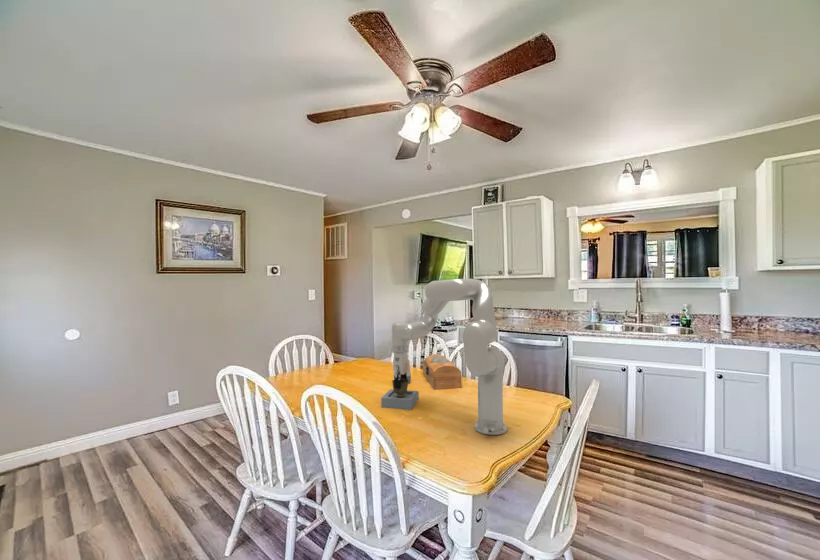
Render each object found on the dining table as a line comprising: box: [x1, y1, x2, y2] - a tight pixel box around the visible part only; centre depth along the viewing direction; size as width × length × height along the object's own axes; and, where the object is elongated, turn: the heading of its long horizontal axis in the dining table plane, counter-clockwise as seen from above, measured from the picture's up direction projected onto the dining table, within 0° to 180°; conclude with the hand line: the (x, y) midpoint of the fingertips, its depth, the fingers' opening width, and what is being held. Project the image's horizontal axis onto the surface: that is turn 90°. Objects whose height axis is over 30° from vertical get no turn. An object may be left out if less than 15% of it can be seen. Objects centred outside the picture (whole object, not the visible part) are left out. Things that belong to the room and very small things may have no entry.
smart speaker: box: [398, 360, 412, 385], centre depth 205 cm, size 10×9×14 cm
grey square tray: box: [380, 388, 420, 411], centre depth 173 cm, size 14×14×5 cm
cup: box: [391, 378, 409, 398], centre depth 173 cm, size 8×7×8 cm
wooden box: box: [422, 353, 463, 391], centre depth 207 cm, size 30×16×14 cm, turn 8°
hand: (400, 385), depth 173 cm, fingers open, 9 cm apart
